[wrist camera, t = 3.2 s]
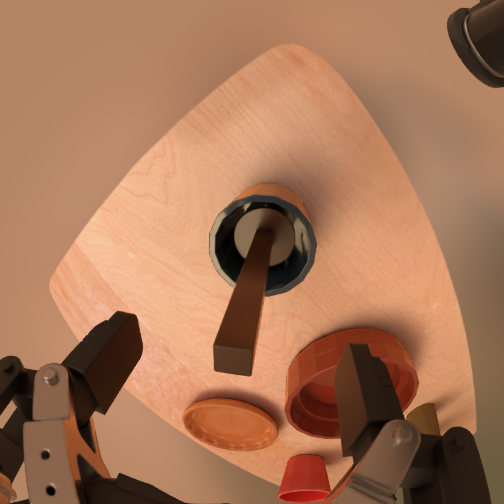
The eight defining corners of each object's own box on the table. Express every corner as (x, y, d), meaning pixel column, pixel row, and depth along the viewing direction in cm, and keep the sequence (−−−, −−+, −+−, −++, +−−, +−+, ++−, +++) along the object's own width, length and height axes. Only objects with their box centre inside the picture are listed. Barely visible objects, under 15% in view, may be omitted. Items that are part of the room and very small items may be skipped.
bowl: (297, 320, 31) (298, 354, 25) (422, 326, 29) (440, 355, 24) (279, 406, 37) (276, 437, 31) (380, 407, 35) (387, 435, 30)
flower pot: (271, 463, 46) (266, 499, 37) (300, 447, 42) (299, 488, 33) (309, 471, 46) (308, 504, 37) (340, 455, 42) (342, 492, 33)
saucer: (283, 439, 41) (282, 452, 38) (202, 437, 44) (199, 449, 41) (272, 389, 36) (270, 404, 33) (173, 388, 38) (167, 401, 36)
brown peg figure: (429, 417, 36) (443, 459, 26) (402, 425, 37) (414, 469, 27) (438, 399, 34) (456, 444, 24) (410, 407, 35) (425, 456, 25)
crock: (231, 179, 26) (210, 191, 19) (311, 186, 25) (322, 201, 18) (228, 253, 29) (208, 290, 21) (302, 261, 28) (307, 300, 21)
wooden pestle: (244, 195, 26) (157, 291, 8) (296, 200, 25) (317, 311, 8) (241, 244, 28) (173, 391, 10) (290, 249, 27) (292, 409, 10)
